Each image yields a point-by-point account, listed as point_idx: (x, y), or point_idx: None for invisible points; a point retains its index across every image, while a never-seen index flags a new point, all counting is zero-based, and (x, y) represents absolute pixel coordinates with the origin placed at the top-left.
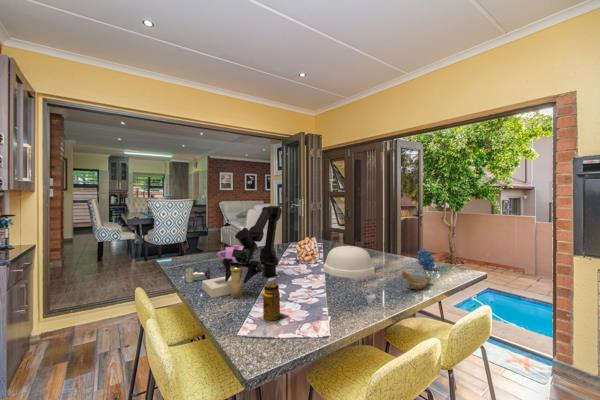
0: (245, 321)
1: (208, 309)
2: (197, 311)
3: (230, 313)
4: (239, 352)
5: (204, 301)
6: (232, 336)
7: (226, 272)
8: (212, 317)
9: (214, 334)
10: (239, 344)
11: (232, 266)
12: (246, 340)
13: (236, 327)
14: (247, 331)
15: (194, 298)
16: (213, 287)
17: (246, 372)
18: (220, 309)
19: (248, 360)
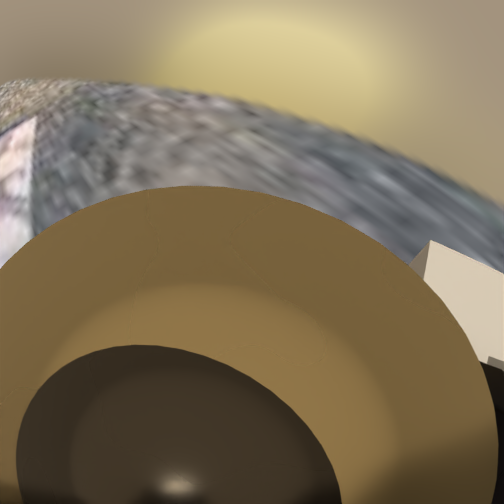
0: (28, 170)
1: (253, 149)
2: (284, 117)
3: (107, 177)
4: (20, 93)
5: (382, 209)
6: (45, 105)
7: (500, 379)
8: (166, 117)
9: (94, 82)
10: (24, 103)
11: (460, 477)
12: (12, 119)
13: (46, 131)
14: (14, 140)
15: (465, 214)
16: (451, 274)
17: (6, 84)
18: (187, 179)
19: (5, 95)
